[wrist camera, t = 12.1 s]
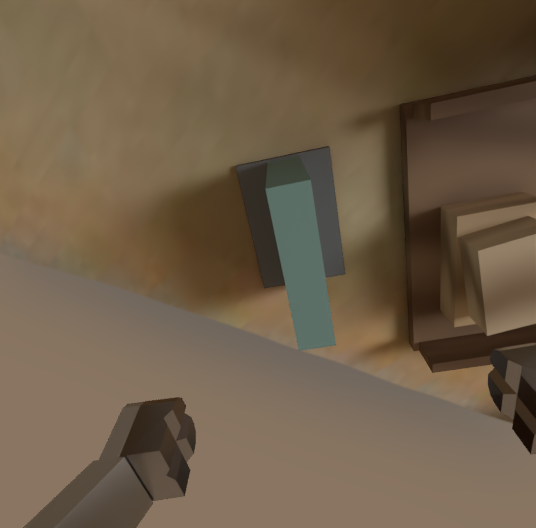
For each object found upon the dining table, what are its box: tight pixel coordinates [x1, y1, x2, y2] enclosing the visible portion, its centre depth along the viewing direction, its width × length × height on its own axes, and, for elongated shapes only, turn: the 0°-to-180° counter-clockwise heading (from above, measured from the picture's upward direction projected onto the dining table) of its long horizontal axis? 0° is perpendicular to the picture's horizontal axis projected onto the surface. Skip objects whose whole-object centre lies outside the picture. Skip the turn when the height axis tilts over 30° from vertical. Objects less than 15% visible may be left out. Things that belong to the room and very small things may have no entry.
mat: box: [236, 146, 345, 288], centre depth 24 cm, size 9×6×1 cm, turn 12°
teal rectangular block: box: [265, 156, 336, 351], centre depth 20 cm, size 9×2×8 cm, turn 12°
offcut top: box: [459, 216, 536, 336], centre depth 21 cm, size 6×4×2 cm, turn 20°
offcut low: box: [440, 191, 536, 327], centre depth 23 cm, size 8×5×2 cm, turn 12°
